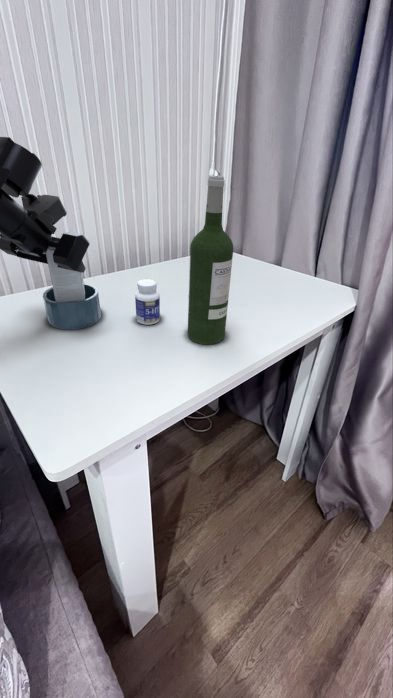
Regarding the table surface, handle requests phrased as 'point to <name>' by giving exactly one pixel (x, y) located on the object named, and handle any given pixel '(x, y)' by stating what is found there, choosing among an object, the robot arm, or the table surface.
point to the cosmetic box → (65, 282)
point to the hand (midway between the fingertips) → (71, 267)
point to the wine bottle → (210, 272)
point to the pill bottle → (147, 302)
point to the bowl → (73, 310)
